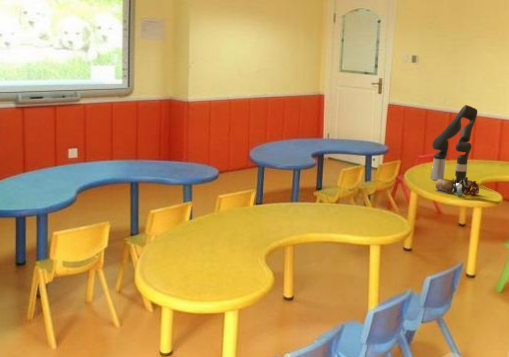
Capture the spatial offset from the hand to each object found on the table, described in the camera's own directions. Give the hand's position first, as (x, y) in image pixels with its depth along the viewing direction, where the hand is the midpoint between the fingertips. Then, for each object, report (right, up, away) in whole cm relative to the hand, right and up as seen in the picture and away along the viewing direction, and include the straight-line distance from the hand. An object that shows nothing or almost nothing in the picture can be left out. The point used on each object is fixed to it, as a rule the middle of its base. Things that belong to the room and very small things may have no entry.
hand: (458, 192), depth 468 cm
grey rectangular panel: (-2, +1, +15) cm, 15 cm away
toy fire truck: (+10, -2, +6) cm, 12 cm away
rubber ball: (0, -3, +1) cm, 3 cm away
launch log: (-7, 0, +11) cm, 14 cm away
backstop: (+4, +2, +19) cm, 19 cm away
